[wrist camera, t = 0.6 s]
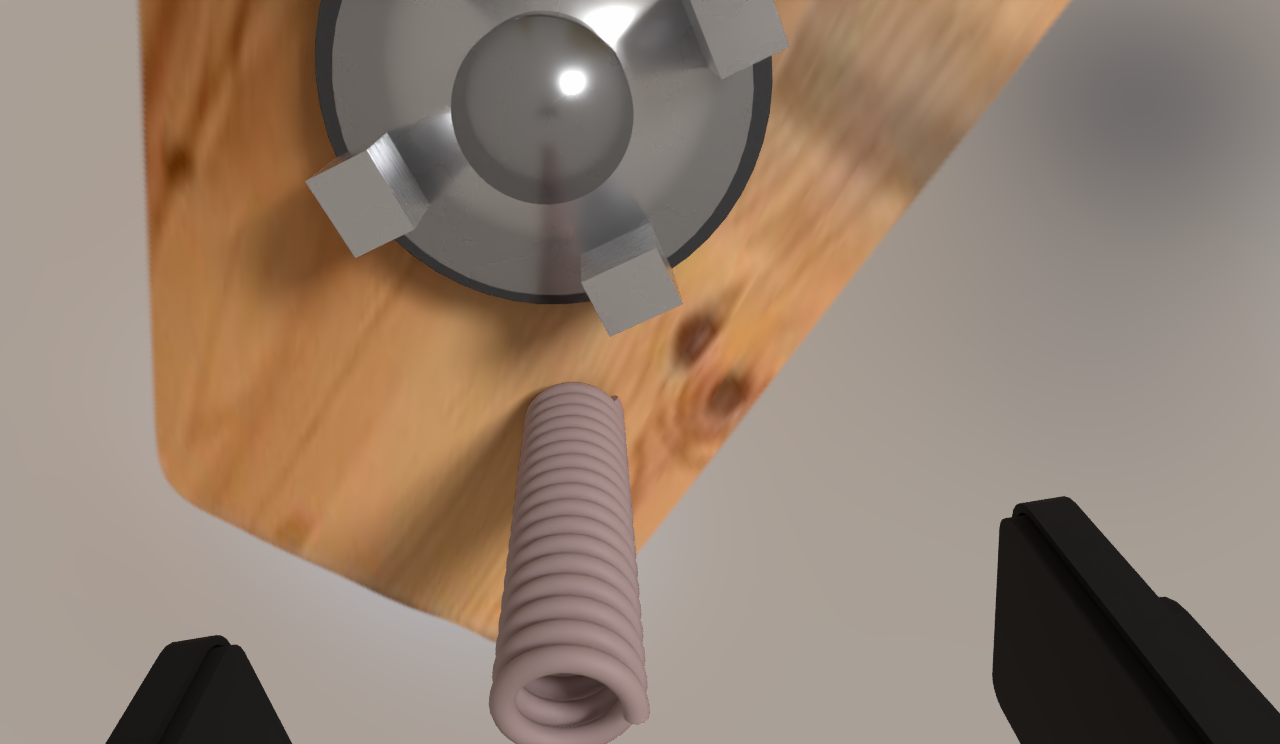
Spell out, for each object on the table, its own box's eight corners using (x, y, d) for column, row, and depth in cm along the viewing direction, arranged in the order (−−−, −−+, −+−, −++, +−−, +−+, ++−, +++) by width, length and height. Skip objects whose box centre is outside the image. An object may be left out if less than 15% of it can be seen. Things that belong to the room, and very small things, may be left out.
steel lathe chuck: (392, -220, 27) (359, -250, 23) (814, -38, 30) (849, -37, 26) (305, 216, 33) (268, 251, 29) (663, 329, 36) (673, 375, 32)
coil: (558, 471, 41) (542, 802, 25) (506, 399, 39) (453, 708, 23) (641, 429, 40) (679, 743, 24) (592, 354, 38) (598, 641, 22)
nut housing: (380, -257, 28) (368, -269, 26) (837, -56, 31) (850, -57, 30) (289, 218, 35) (276, 230, 33) (672, 339, 38) (676, 355, 37)
